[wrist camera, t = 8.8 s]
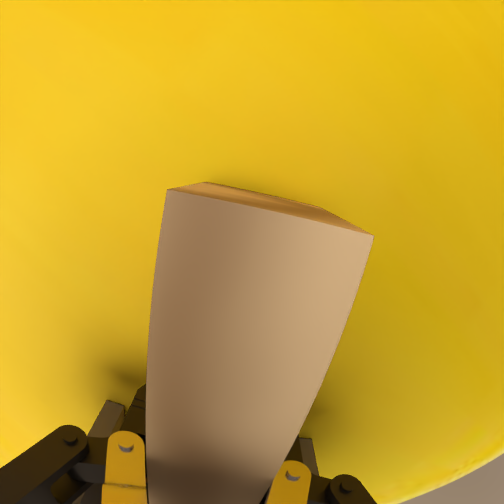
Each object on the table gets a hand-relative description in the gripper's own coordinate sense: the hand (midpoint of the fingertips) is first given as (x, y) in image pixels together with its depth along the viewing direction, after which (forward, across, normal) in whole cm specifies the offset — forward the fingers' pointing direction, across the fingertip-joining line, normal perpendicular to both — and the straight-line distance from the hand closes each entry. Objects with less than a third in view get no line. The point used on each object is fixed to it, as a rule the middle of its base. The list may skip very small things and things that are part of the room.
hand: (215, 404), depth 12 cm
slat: (0, 0, 0) cm, 0 cm away
